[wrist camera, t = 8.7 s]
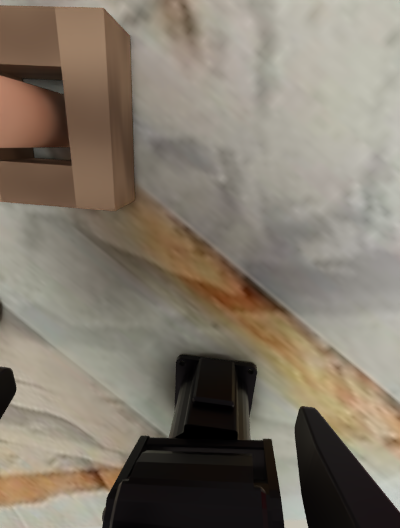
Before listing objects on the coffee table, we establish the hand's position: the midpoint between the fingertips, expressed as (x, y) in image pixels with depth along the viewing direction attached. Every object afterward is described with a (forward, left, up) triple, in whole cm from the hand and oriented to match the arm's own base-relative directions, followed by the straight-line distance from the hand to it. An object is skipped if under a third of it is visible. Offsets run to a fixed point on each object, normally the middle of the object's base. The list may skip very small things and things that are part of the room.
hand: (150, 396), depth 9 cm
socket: (+8, +9, -12) cm, 17 cm away
